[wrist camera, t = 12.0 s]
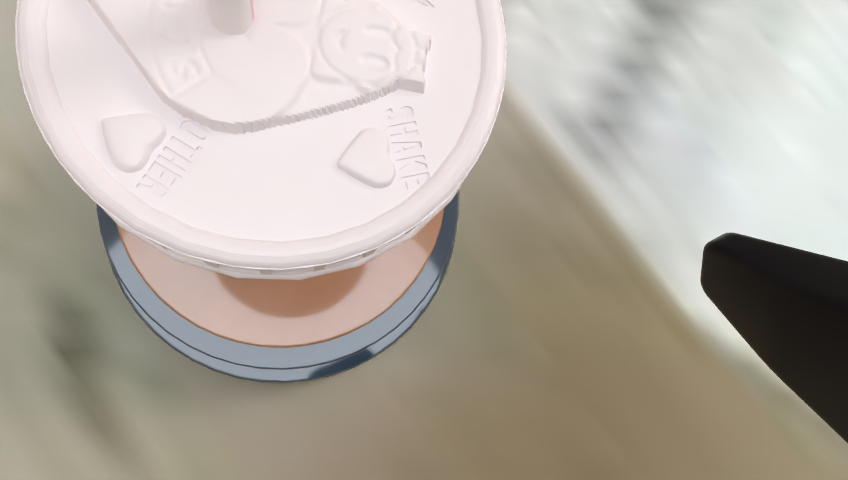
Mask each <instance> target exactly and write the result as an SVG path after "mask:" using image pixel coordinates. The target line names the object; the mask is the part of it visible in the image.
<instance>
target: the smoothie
mask: <svg viewBox="0 0 848 480" xmlns="http://www.w3.org/2000/svg"><path fill="white" fill-rule="evenodd" d="M15 35H16V52H17V60H18V67H19V73H20V77H21V81H22V85H23V89H24V93H25V96H26V99H27V101H28V104H29V107H30V109H31V112H32V115H33V117H34V119H35V121H36V123H37V125H38V127H39V129H40V131H41V133H42V135H43V137H44V139H45V141H46V143H47V144H48V146H49V147H50V149H51V150H52V152H53V154H54V155H55V157H56V158H57V160H58V161H59V163H60V164H61V165H62V166H63V168H64V169H65V170H66V171H67V173H68V174H69V175H70V176H71V178H72V179H73V180H74V181H75V182H76V183H77V184H78V185H79V186H80V187H81V188H82V190H83V191H84V192H85V193H86V194H87V195H88V196H89V197H90V198H91V199H92V200H94V201H95V202H96V203H97V204H98V205H99V206H100V207H101V208H102V209H103V210H104V211H105V212H106V213H107V214H108V215H109V216H110V217H111V218H112V219H113V220H114V221H115V222H116V224H117V225H118V226H119V227H121V228H123V229H124V230H126V231H128V232H129V233H131V234H133V235H134V236H136V237H137V238H139V239H141V240H142V241H144V242H146V243H147V244H149V245H151V246H152V247H154V248H156V249H157V250H159V251H161V252H162V253H164V254H166V255H167V256H169V257H171V258H172V259H174V260H176V261H180V262H183V263H187V264H190V265H193V266H197V267H200V268H204V269H207V270H211V271H214V272H217V273H221V274H224V275H228V276H231V277H234V278H249V279H283V280H302V279H306V278H311V277H315V276H319V275H324V274H328V273H332V272H336V271H341V270H345V269H349V268H354V267H358V266H361V265H363V264H364V263H366V262H368V261H370V260H372V259H374V258H376V257H378V256H379V255H381V254H383V253H385V252H387V251H389V250H391V249H393V248H395V247H396V246H398V245H400V244H402V243H404V242H406V241H408V240H410V239H411V238H412V237H413V236H414V235H416V234H417V233H418V232H419V231H420V230H421V229H422V228H423V227H424V226H425V225H426V224H427V223H428V222H429V221H430V220H431V219H432V218H434V217H435V216H436V215H437V214H438V213H439V212H440V211H441V210H442V209H443V208H444V207H445V206H446V205H447V204H448V203H449V202H450V201H452V199H453V198H454V196H455V194H456V193H457V191H458V189H459V188H460V186H461V184H462V183H463V181H464V179H465V178H466V176H467V175H468V173H469V172H470V170H471V169H472V167H473V166H474V164H475V163H476V161H477V160H478V158H479V156H480V154H481V152H482V150H483V149H484V147H485V145H486V143H487V141H488V139H489V136H490V134H491V131H492V129H493V126H494V124H495V121H496V118H497V114H498V111H499V107H500V104H501V100H502V95H503V89H504V84H505V76H506V63H507V46H506V31H505V23H504V16H503V12H502V7H501V2H500V0H17V9H16V20H15Z"/></svg>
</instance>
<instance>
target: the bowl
mask: <svg viewBox="0 0 848 480" xmlns="http://www.w3.org/2000/svg"><path fill="white" fill-rule="evenodd" d="M458 211H459V189H458V191H457V193H456V194H455V196H454V198H453V199H452V201H450V202H449V203H448V204H447V205H446V206H445V207H444V208H443V209H442V210H441V211H440V212H439V213H438V214H437V215H436V216H435V217H434V218H432V219H431V220H430V221H429V222H428V223H427V224H426V225H425V226H424V227H423V228H422V229H421V230H420V231H419V232H418V233H417V234H416V235H414V236H413V237H412V238H411V239H410V240H408V241H406V242H404V243H402V244H400V245H398V246H396V247H395V248H393V249H391V250H389V251H387V252H385V253H383V254H381V255H379V256H378V257H376V258H374V259H372V260H370V261H368V262H366V263H364V264H363V265H361V266H358V267H354V268H349V269H345V270H341V271H336V272H332V273H328V274H324V275H319V276H315V277H311V278H306V279H302V280H283V279H249V278H234V277H231V276H228V275H224V274H221V273H217V272H214V271H211V270H207V269H204V268H200V267H197V266H193V265H190V264H187V263H183V262H180V261H176V260H174V259H172V258H171V257H169V256H167V255H166V254H164V253H162V252H161V251H159V250H157V249H156V248H154V247H152V246H151V245H149V244H147V243H146V242H144V241H142V240H141V239H139V238H137V237H136V236H134V235H133V234H131V233H129V232H128V231H126V230H124V229H123V228H121V227H119V226H118V225H117V224H116V222H115V221H114V220H113V219H112V218H111V217H110V216H109V215H108V214H107V213H106V212H105V211H104V210H103V209H102V208H101V207H100V206H99V205H98V204H97V214H98V220H99V226H100V232H101V236H102V239H103V242H104V245H105V249H106V252H107V255H108V257H109V261H110V264H111V267H112V270H113V273H114V275H115V277H116V279H117V281H118V283H119V285H120V287H121V289H122V292H123V294H124V295H125V297H126V298H127V300H128V301H129V303H130V304H131V306H132V307H133V309H134V310H135V312H136V313H137V314H138V316H139V317H140V318H141V319H142V320H143V321H144V322H145V323H146V325H147V326H148V327H149V328H150V329H151V330H152V331H153V332H154V333H155V334H156V335H157V336H158V337H160V338H161V339H162V340H163V341H164V342H166V343H167V344H168V345H169V346H170V347H171V348H173V349H175V350H176V351H178V352H179V353H181V354H182V355H184V356H185V357H187V358H189V359H190V360H192V361H194V362H196V363H198V364H200V365H202V366H205V367H207V368H209V369H211V370H213V371H216V372H219V373H222V374H226V375H229V376H232V377H235V378H239V379H245V380H251V381H257V382H268V383H292V382H303V381H311V380H316V379H320V378H324V377H329V376H333V375H336V374H338V373H341V372H344V371H347V370H349V369H352V368H355V367H357V366H358V365H360V364H362V363H364V362H366V361H368V360H370V359H372V358H374V357H375V356H377V355H378V354H380V353H381V352H383V351H384V350H385V349H387V348H388V347H390V346H391V345H393V344H394V343H395V342H396V341H397V340H398V339H399V338H400V337H402V336H403V335H404V334H405V333H406V332H407V331H408V330H409V329H410V328H411V327H412V326H413V325H414V324H415V322H416V321H417V320H418V319H419V318H420V316H421V315H422V314H423V313H424V312H425V310H426V309H427V307H428V305H429V304H430V302H431V301H432V299H433V298H434V296H435V294H436V293H437V291H438V289H439V287H440V284H441V282H442V280H443V278H444V276H445V274H446V271H447V268H448V265H449V261H450V258H451V255H452V252H453V246H454V240H455V235H456V226H457V220H458Z"/></svg>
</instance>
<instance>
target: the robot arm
mask: <svg viewBox="0 0 848 480" xmlns="http://www.w3.org/2000/svg"><path fill="white" fill-rule="evenodd" d="M701 285H702V288H703V290H704V292H705V293H706V295H707V296H708V297H709V298H710V300H711V301H712V302H713V303H714V304H715V305H716V307H717V308H718V309H719V310H720V311H721V312H722V314H723V315H724V316H725V317H726V318H727V319H728V321H729V322H730V323H731V324H732V325H733V327H734V328H735V329H736V330H737V331H738V332H739V334H740V335H741V336H742V337H743V338H744V339H745V341H746V342H747V343H748V344H749V345H750V346H751V348H752V349H753V350H754V351H755V352H756V353H757V355H758V356H759V357H760V358H761V359H762V360H763V361H764V362H765V363H766V365H767V366H768V367H769V368H770V369H771V370H772V371H773V372H774V373H775V374H776V375H777V376H778V377H779V378H780V379H781V380H782V381H783V382H784V383H785V384H786V385H787V386H788V387H789V388H791V389H792V390H793V391H794V392H795V393H796V394H797V395H798V396H799V397H800V398H801V399H802V400H803V401H804V402H805V403H806V404H807V405H808V406H809V407H810V408H811V409H813V410H814V411H815V412H816V413H817V414H818V415H819V416H820V417H821V418H822V419H823V420H824V421H825V422H826V423H827V424H828V425H829V426H830V427H831V428H832V429H833V430H835V431H836V432H837V433H838V434H839V435H840V436H841V437H842V438H843V439H844V440H845V441H846V442H847V443H848V261H844V260H840V259H836V258H832V257H828V256H824V255H820V254H816V253H812V252H808V251H804V250H800V249H796V248H792V247H788V246H784V245H780V244H776V243H772V242H769V241H765V240H761V239H757V238H753V237H749V236H745V235H741V234H737V233H725V234H723V235H721V236H719V237H717V238H715V239H713V240H712V241H710V242H708V243H707V244H706V245H705V247H704V251H703V260H702V269H701Z"/></svg>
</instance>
